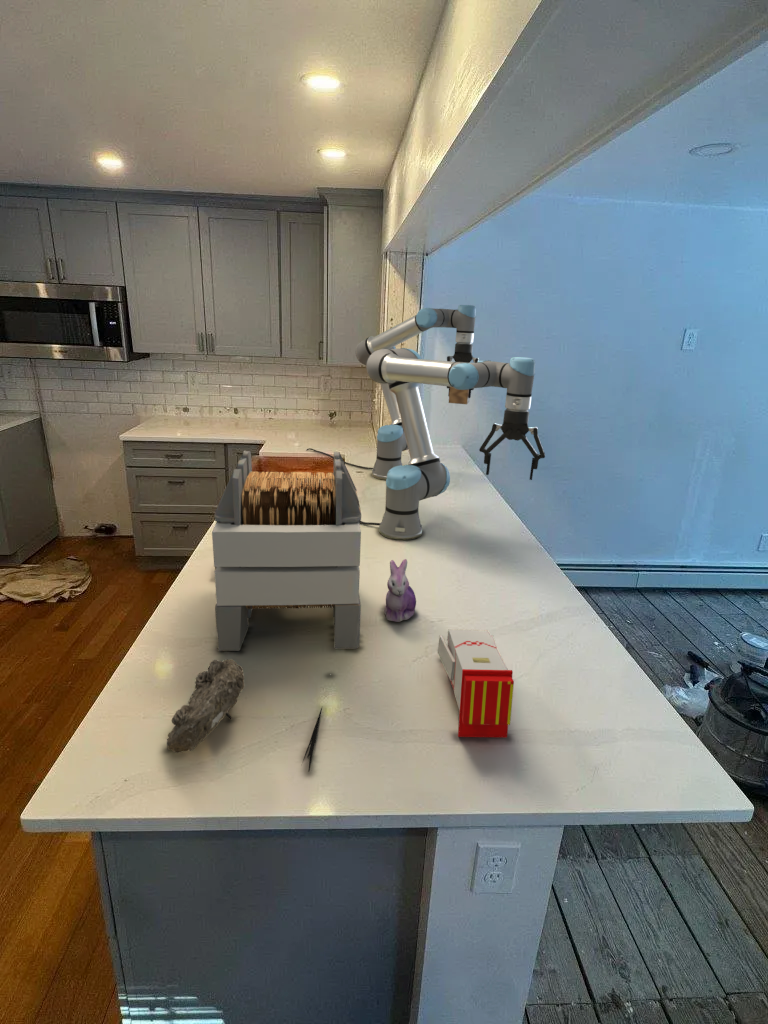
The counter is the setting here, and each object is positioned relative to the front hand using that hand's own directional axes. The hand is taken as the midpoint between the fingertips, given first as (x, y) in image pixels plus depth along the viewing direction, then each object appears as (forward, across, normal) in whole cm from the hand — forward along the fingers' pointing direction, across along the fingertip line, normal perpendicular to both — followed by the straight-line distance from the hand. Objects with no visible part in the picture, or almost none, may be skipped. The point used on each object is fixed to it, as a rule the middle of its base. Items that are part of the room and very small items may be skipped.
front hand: (509, 476), depth 181 cm
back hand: (-13, -28, +74) cm, 80 cm away
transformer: (+26, -48, -62) cm, 82 cm away
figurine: (+26, -22, -52) cm, 62 cm away
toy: (+26, 0, -78) cm, 82 cm away
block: (-11, -28, +74) cm, 80 cm away
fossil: (+26, -46, -102) cm, 115 cm away
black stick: (+26, -27, -96) cm, 103 cm away
